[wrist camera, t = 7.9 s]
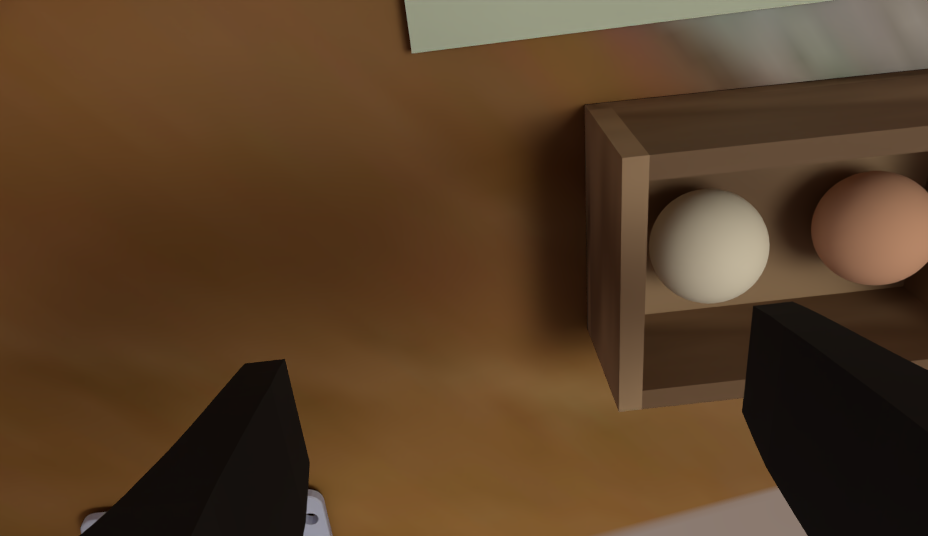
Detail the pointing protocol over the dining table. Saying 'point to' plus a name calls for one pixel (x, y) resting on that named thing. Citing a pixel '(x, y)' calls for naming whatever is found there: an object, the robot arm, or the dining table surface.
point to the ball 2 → (872, 228)
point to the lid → (550, 17)
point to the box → (774, 197)
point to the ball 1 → (709, 246)
